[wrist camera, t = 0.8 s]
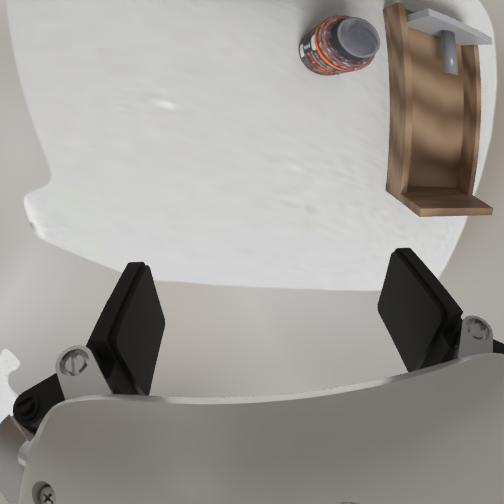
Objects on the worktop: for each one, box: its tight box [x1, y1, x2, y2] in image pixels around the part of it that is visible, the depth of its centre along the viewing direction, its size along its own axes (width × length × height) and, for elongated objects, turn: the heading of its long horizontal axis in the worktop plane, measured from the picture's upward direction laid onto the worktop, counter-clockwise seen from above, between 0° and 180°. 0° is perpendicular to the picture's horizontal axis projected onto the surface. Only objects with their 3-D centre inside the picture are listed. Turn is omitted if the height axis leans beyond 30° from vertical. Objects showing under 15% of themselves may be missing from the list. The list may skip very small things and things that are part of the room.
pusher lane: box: [383, 3, 493, 217], centre depth 25 cm, size 26×14×9 cm, turn 4°
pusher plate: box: [406, 8, 492, 76], centre depth 20 cm, size 7×11×7 cm, turn 94°
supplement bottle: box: [299, 15, 380, 75], centre depth 21 cm, size 6×6×11 cm
